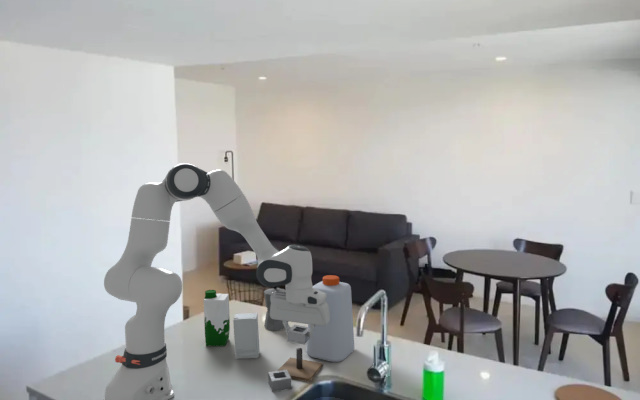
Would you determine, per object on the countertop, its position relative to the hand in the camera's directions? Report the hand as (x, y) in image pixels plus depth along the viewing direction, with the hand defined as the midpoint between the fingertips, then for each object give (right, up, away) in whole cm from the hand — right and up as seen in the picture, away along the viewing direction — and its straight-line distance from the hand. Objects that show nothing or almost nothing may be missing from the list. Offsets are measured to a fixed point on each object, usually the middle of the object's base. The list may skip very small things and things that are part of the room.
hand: (299, 334), depth 161 cm
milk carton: (-32, -10, +24) cm, 41 cm away
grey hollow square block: (0, -2, 0) cm, 2 cm away
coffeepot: (-12, -8, +38) cm, 41 cm away
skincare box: (-19, -11, +13) cm, 25 cm away
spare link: (-6, -14, -9) cm, 17 cm away
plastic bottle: (+11, -11, +15) cm, 21 cm away
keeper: (0, -12, +1) cm, 12 cm away
